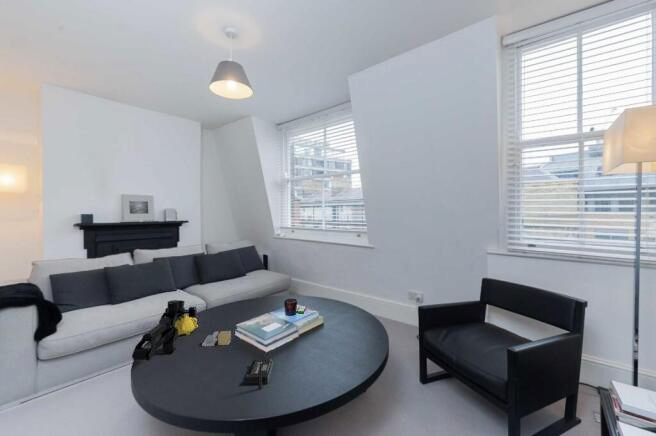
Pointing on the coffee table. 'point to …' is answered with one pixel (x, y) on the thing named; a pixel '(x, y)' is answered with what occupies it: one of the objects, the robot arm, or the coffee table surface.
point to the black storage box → (259, 371)
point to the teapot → (186, 325)
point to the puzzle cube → (301, 309)
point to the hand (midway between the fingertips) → (186, 308)
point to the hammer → (210, 340)
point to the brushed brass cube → (224, 338)
